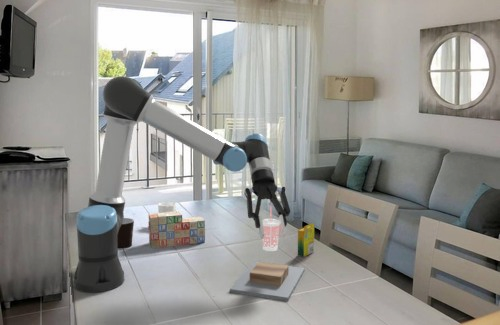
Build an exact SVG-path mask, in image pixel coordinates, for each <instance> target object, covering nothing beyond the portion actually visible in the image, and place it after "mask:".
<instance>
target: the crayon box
mask: <svg viewBox="0 0 500 325" xmlns="http://www.w3.org/2000/svg"><path fill="white" fill-rule="evenodd" d="M313 253H315V222H312V223H309V224H307V225H305V226H303V228H300V229H298V230H297V256H298V257H303V258H305V257H306V256H309V255H311V254H313Z"/></svg>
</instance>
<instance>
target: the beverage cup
mask: <svg viewBox="0 0 500 325" xmlns="http://www.w3.org/2000/svg"><path fill="white" fill-rule="evenodd" d="M272 207H273V205H269V218H264V219H263V218H262V222H263V228H264V233H265V235H264V238H263V239H262V250H263V251H265V252H276V251H277V250H278V248H279V247H278V246H279V236H280V234H279V233H280V220H278V218H277V219H276V218H272V216H273V215H272V212H273V211H272V209H273V208H272Z"/></svg>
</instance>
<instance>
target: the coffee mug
mask: <svg viewBox="0 0 500 325" xmlns="http://www.w3.org/2000/svg"><path fill="white" fill-rule="evenodd" d="M134 223H135V220H134V218H130V217H124V218H123V223H122V224H121V227H120V229H119V231H118V234H117V244H118V250H119V249H122V250H123V249H128V248H132V246H133V235H134Z"/></svg>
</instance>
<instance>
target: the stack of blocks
mask: <svg viewBox="0 0 500 325" xmlns="http://www.w3.org/2000/svg"><path fill="white" fill-rule="evenodd" d="M205 225H206V224H205V219H204V218H203V217H202V216H193V217H183V214H182V213H181V212H180V210H179V211H178V210H177V211H176V212H165V213H159V212H154V213H153V212H152V213H148V236H149V237H148V239H149V240H148V242H149V243H148V244H149V246H150V248H154V249H155V248H164V247H166V248H167V247H175V246H185V245H192V244H193V245H194V244H205V242H206V226H205Z"/></svg>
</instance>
